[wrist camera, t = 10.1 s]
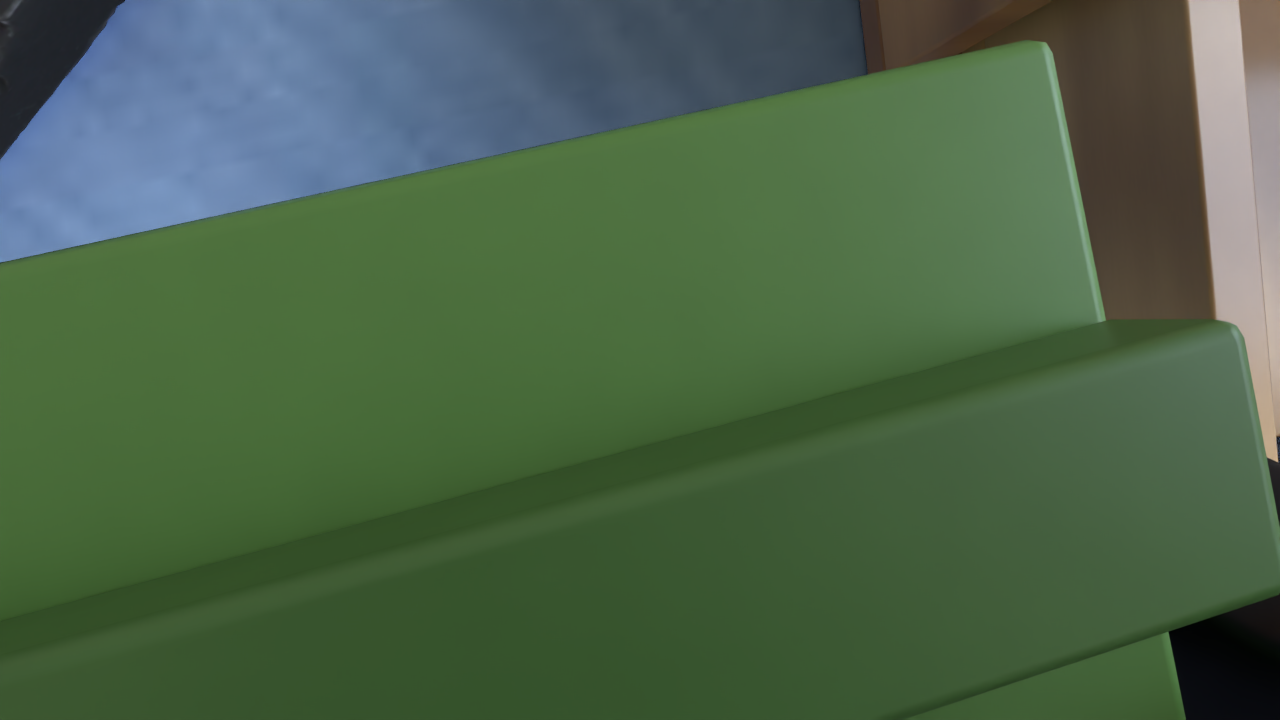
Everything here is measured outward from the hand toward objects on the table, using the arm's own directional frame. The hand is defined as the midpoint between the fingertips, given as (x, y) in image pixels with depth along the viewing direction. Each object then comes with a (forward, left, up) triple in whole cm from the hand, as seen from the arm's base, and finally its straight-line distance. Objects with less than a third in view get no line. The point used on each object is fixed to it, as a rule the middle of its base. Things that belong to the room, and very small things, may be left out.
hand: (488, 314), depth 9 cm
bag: (-1, -1, -5) cm, 5 cm away
